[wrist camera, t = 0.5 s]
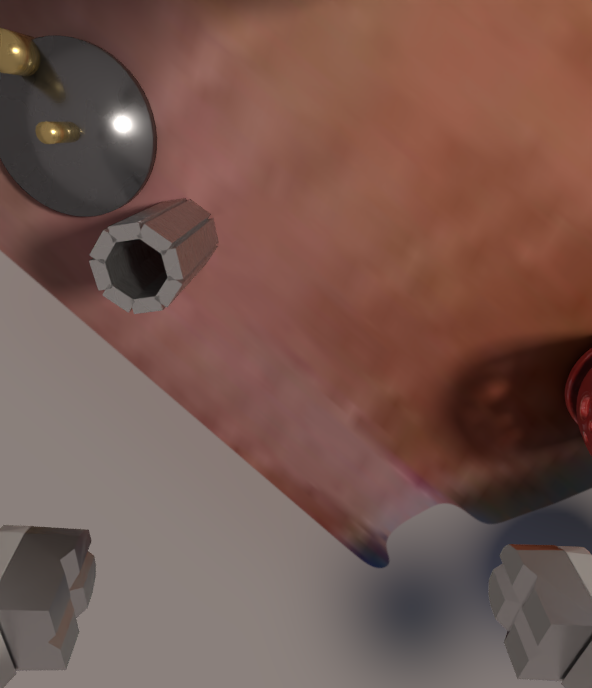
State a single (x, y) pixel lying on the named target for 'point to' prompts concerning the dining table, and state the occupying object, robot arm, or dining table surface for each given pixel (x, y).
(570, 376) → the plant pot
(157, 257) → the octagonal pipe segment
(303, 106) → the dining table surface
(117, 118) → the grey pot lid
